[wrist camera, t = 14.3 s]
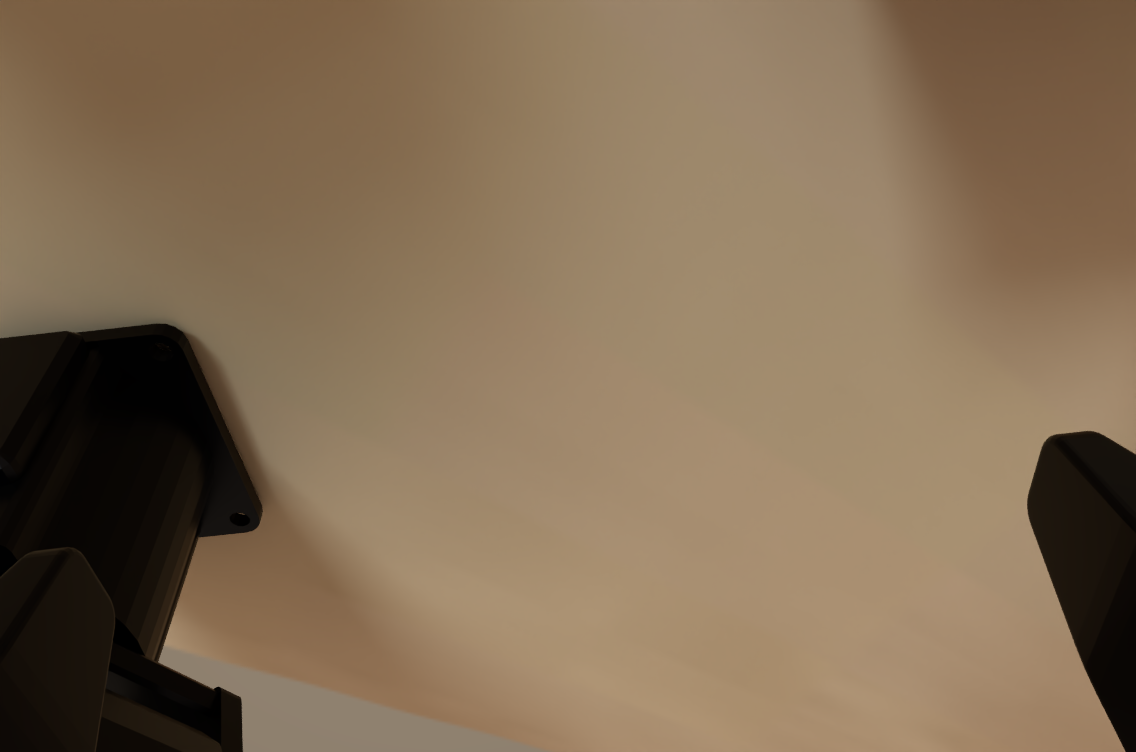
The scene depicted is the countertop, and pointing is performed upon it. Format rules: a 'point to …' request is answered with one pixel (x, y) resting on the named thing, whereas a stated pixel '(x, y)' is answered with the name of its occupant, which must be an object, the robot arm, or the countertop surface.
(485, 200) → the countertop surface
